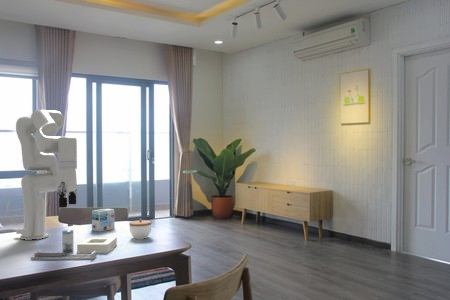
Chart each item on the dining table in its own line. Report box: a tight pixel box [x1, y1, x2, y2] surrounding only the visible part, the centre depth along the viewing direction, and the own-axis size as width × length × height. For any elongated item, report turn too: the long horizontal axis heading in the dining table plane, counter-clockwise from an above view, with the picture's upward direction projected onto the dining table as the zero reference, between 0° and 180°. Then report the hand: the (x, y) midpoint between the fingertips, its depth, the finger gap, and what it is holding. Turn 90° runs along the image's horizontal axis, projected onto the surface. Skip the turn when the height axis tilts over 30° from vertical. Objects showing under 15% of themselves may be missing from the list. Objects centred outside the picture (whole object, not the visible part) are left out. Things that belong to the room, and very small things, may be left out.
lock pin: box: [33, 251, 65, 257], centre depth 161 cm, size 11×2×2 cm, turn 89°
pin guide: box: [30, 251, 97, 261], centre depth 161 cm, size 25×4×2 cm, turn 89°
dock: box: [76, 237, 118, 254], centre depth 176 cm, size 13×13×4 cm
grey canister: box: [61, 229, 75, 254], centre depth 171 cm, size 4×4×9 cm
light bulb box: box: [91, 208, 116, 232], centre depth 219 cm, size 11×7×11 cm, turn 148°
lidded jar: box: [129, 218, 152, 240], centre depth 198 cm, size 11×11×9 cm
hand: (67, 205), depth 171 cm, fingers open, 9 cm apart
